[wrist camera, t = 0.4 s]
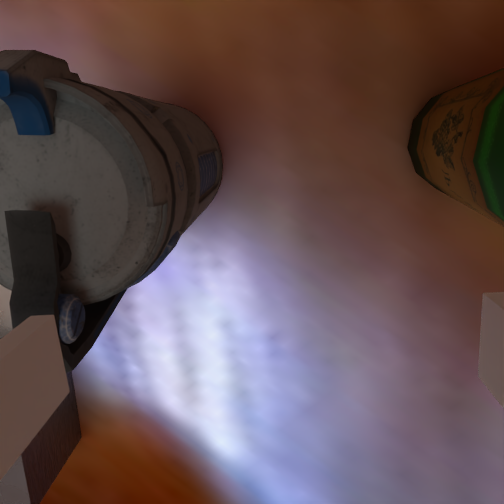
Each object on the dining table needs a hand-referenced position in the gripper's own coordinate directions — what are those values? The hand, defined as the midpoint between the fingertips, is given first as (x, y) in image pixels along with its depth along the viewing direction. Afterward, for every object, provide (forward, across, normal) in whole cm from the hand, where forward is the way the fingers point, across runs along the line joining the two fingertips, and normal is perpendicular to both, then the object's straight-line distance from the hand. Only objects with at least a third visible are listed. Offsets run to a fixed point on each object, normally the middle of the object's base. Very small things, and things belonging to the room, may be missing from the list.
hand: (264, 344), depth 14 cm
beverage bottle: (+28, -9, +3) cm, 30 cm away
